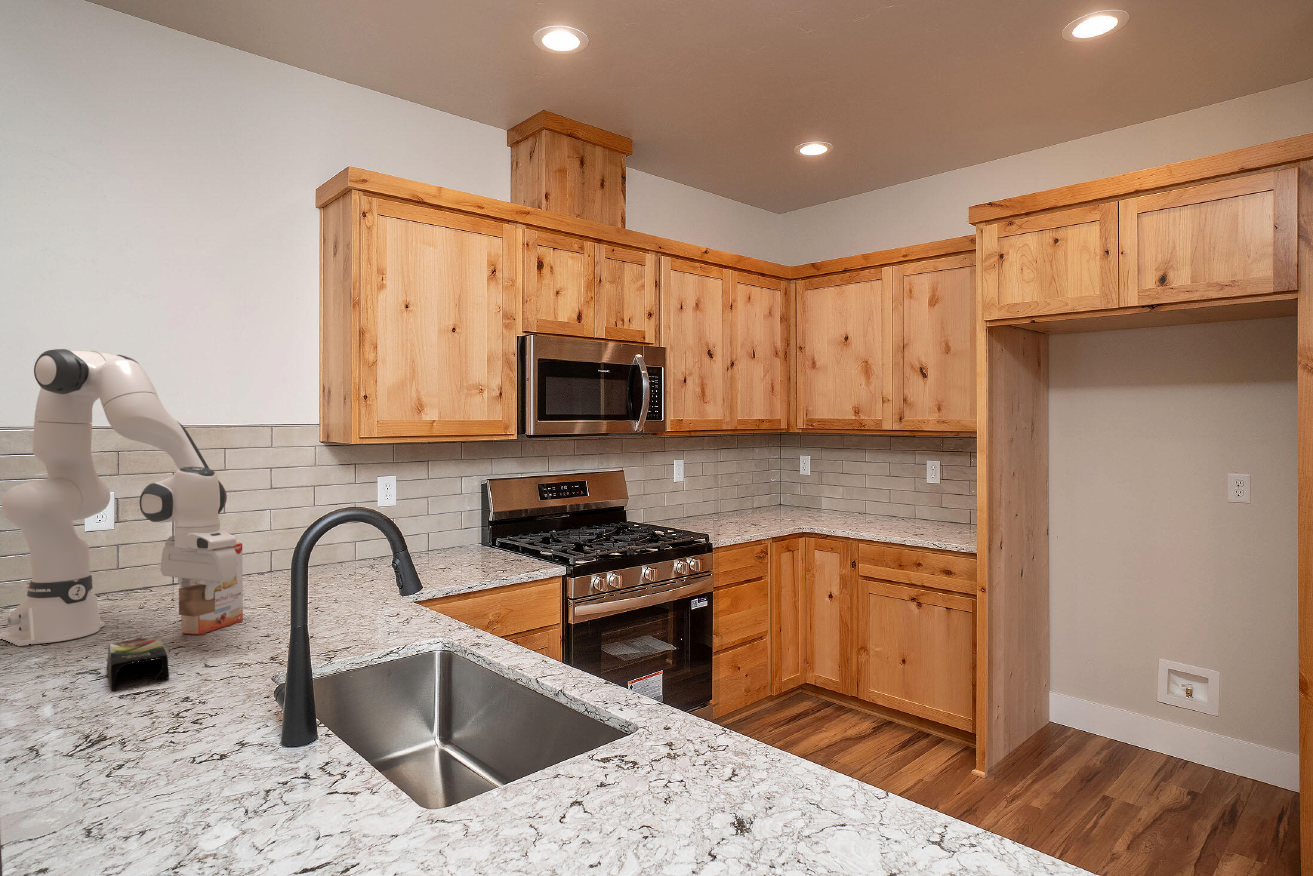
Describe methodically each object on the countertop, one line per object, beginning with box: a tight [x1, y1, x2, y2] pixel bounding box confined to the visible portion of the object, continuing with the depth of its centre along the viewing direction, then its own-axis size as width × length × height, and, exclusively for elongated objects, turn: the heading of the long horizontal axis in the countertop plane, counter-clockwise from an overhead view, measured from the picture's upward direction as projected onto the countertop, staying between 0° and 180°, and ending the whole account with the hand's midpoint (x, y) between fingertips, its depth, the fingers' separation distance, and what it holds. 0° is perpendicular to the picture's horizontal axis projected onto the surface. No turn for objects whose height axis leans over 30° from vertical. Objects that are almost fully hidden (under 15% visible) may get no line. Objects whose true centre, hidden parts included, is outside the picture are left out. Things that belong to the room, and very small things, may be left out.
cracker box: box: [180, 541, 244, 636], centre depth 183 cm, size 14×6×21 cm, turn 168°
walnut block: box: [178, 584, 215, 617], centre depth 165 cm, size 5×5×6 cm
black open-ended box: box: [106, 635, 170, 692], centre depth 148 cm, size 20×10×6 cm, turn 39°
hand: (197, 598), depth 165 cm, fingers closed on walnut block, 5 cm apart
